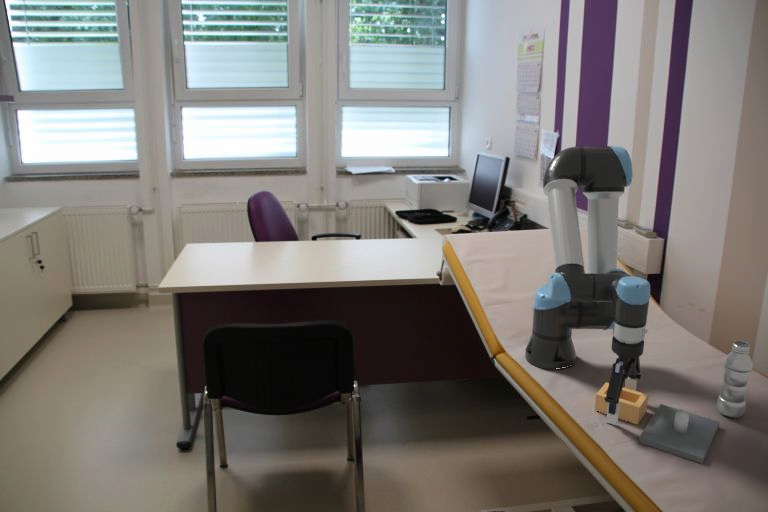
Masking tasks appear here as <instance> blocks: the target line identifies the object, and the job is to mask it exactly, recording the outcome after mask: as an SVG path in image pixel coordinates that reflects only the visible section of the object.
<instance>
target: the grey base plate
mask: <svg viewBox="0 0 768 512" xmlns="http://www.w3.org/2000/svg"><path fill="white" fill-rule="evenodd" d="M719 427H720V421H718V420H716V419H711V418H710V417H705V416H702V415H699V414H695V413H692V412H688V411H685V410H682V409H679V408H676V407H672V406H669V405H665V404H661V403H660V404H659V406H658V408H657V409H656V410H655V412H654V414H653V415H652V417H651V418H650V420H649V422H647V424H646V427H645V428H644V429H643V431H642V432H641V434H640V436H639V439H638V443H641V444H643V445H645V446H649V447H651V448H655V449H657V450H661V451H663V452H667V453H670V454H672V455H675V456H678V457H681V458H684V459H686V460H688V461H689V460H690V461H693V462H696V463H698V464H701V465H702V464H703V463H704V461H705V458H706V456H707V454H708V452H709V449H710V448H711V445H712V443H713V441H714V438H715V436H716V434H717V432H718V430H719Z"/></svg>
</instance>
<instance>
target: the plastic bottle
mask: <svg viewBox="0 0 768 512" xmlns="http://www.w3.org/2000/svg"><path fill="white" fill-rule="evenodd" d="M750 348H751V345H750V344H749V343H748V342H747V341H743V340H735V341H733V342H732V346H731V352H729V353H728V354H727V355H726V356H725V358H724V360H723V381H722V386H721V389H720V393H719V395H718V398H717V400H716V408H717V410H718V411H719V413H720V414H722V415H723V416H726V417H729V418H739V417H741V416H743V415H744V412H745V411H746V408H747V407H746V405H747V404H746V394H747V393H746V392H747V385H748V381H749V379H750V376H751V373H752V372H753V371H752V370H753V367H754V364H753V360H752V358H751V357H750V355H749V353H750Z"/></svg>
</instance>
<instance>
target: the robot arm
mask: <svg viewBox="0 0 768 512" xmlns="http://www.w3.org/2000/svg"><path fill="white" fill-rule="evenodd" d="M632 178H633V164H632V159H631V156H630V154H629V152H628V150H627V149H626V148H624V147H623V146H612V145H607V146H603V145H602V146H571V147H567V148H565V149H563V150H561V151H560V152H558V153H557V154H556V155H555V156H554V157H553V158H551V160H550V162H549V163H548V165H547V167H546V169H545V171H544V175H543V179H542V187H543V188H542V189H543V193H544V195H545V196H547V200H548V202H547V203H548V212H549V220H550V221H549V222H550V230H551V231H550V232H551V243H552V251H553V259H554V260H553V263H554V271H555V273H554V272H553V273H550V274H549V276H548V281H547V284H545V285H543V286H541V287H539V288H537V290H536V291H535V292H534V298H533V303H532V307H533V310H532V313H533V314H532V330H531V336H530V337H529V340H528V343H527V345H526V347H525V353H524V357H525V360H526V361H527V362H528V363H529V364H531V365H533V366H535V367H538V368H541V369H544V368H546V369H545V370H552V369H556V368H562V367H567V366H570V365H572V366H574V365H575V364H574V363H576V362H577V352H576V349H575V346H574V345H575V344H574V342H573V338H572V336H573V335H572V333H573V330H603V331H607V330H612V341H611V351H612V352H613V353H614V354H615V355H616V356H617V358H616V360H615V362H613V364H612V369H611V373H610V374H611V375H610V379H609V382H608V383H609V386H608V391H607V395H606V397H605V398H604V400H605V402H608V407H607V415H606V419H605V422H606V423H608V424H610V425H614V426H618V424H619V419H618V417H619V407H620V402H619V399H620V395H621V392H622V389H623V387H624V388H627V389H631V390H634V391H637V385H638V384H637V382H638V380H641V378H642V375H641V374H640V373H641V365H640V364H641V363H640V357H641V356H642V355H643V353H644V347H645V337H646V334H648V333H649V329H646V328H647V327H646V326H647V321H648V313H649V306H650V299H651V284H650V281H648V280H647V279H643V277H638V276H634V275H633V276H631V275H630V274H629V273H628V272H627V271H625V270H624V269H620V268H617V267H618V265H617V264H618V237H619V234H618V232H619V231H618V230H619V202H620V201H619V200H620V197H622V196H623V195H624V194H625V188H627V187H629V186H630V185H631V184H632ZM578 188H582V194H583V195H584V196H585V197H586V198H587V215H586V216H587V221H586V224H587V225H586V226H587V227H586V256H585V257H586V258H585V259H586V262H584V256H583V255H584V254H583V248H582V247H583V246H582V240H581V232H580V231H581V230H580V222H579V213H578V206H577V197H576V193H577V192H578ZM584 263H586V265H584ZM585 266H586V267H585ZM573 364H574V365H573Z"/></svg>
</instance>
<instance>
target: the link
mask: <svg viewBox="0 0 768 512" xmlns="http://www.w3.org/2000/svg"><path fill="white" fill-rule="evenodd" d="M608 386H609V382H606V381H605V383H604V384H603V386H601V388H600V389H599V390H598V391H597V392H596V393H595V402H594V403H595V404H594V411H595V410H597V411H599V412H598V413H600V412H602V413H601V414H603V413H604V414H603V415H606V414H607V407H608V402H605V400H604V398H605V397H606V395H607V391H608ZM648 400H649V394H647V393H644V392H640V391H637V390H636V391H634V390H631V389H627V388H625V386H623V389H622V392H621V395H620V399H619V402H620V407H619V417H618V418H619V419H618V420H621V419H622V420H621V421H624V420H625V422H627V421H629V422H628V423H630V422H631V424H634V425H637V426H638V425H639V423H640V422H641V421H642V419H643V417H644V416H643V415H646V413H645V412H647V409H648ZM597 411H596V412H597Z"/></svg>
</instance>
